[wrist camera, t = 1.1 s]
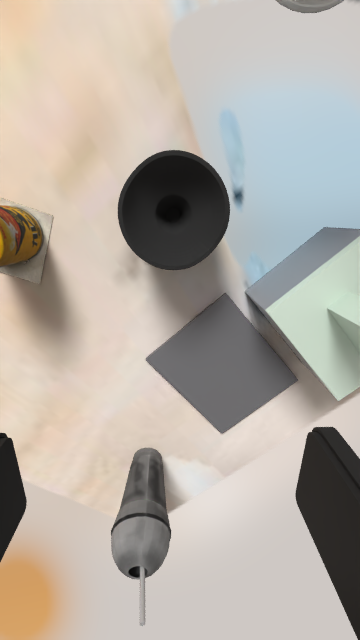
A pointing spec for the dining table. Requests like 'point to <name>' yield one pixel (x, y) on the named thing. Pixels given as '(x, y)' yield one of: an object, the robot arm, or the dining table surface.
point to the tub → (299, 272)
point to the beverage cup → (142, 522)
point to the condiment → (23, 240)
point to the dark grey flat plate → (222, 365)
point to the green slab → (326, 320)
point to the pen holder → (173, 210)
